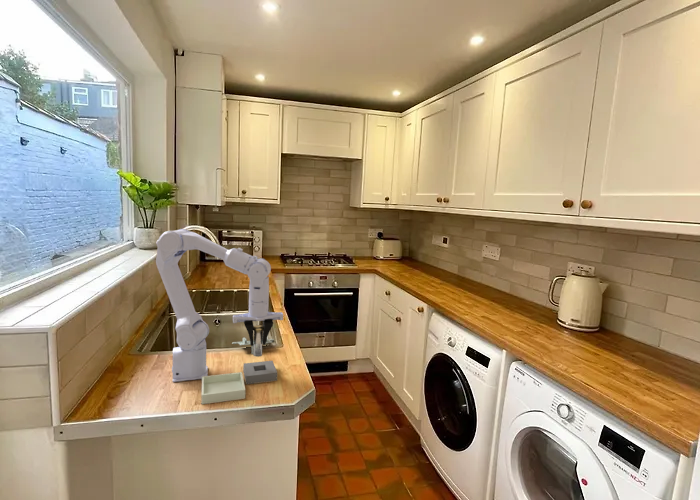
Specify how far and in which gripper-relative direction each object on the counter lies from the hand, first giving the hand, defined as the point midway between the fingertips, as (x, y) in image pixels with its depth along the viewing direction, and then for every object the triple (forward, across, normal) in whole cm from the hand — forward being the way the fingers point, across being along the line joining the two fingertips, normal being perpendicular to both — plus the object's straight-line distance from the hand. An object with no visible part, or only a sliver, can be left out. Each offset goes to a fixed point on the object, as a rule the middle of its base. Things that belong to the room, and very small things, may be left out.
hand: (257, 344), depth 112 cm
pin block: (+10, +1, 0) cm, 10 cm away
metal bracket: (+11, +2, +24) cm, 26 cm away
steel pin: (+3, 0, 0) cm, 3 cm away
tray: (+10, -10, -6) cm, 16 cm away
